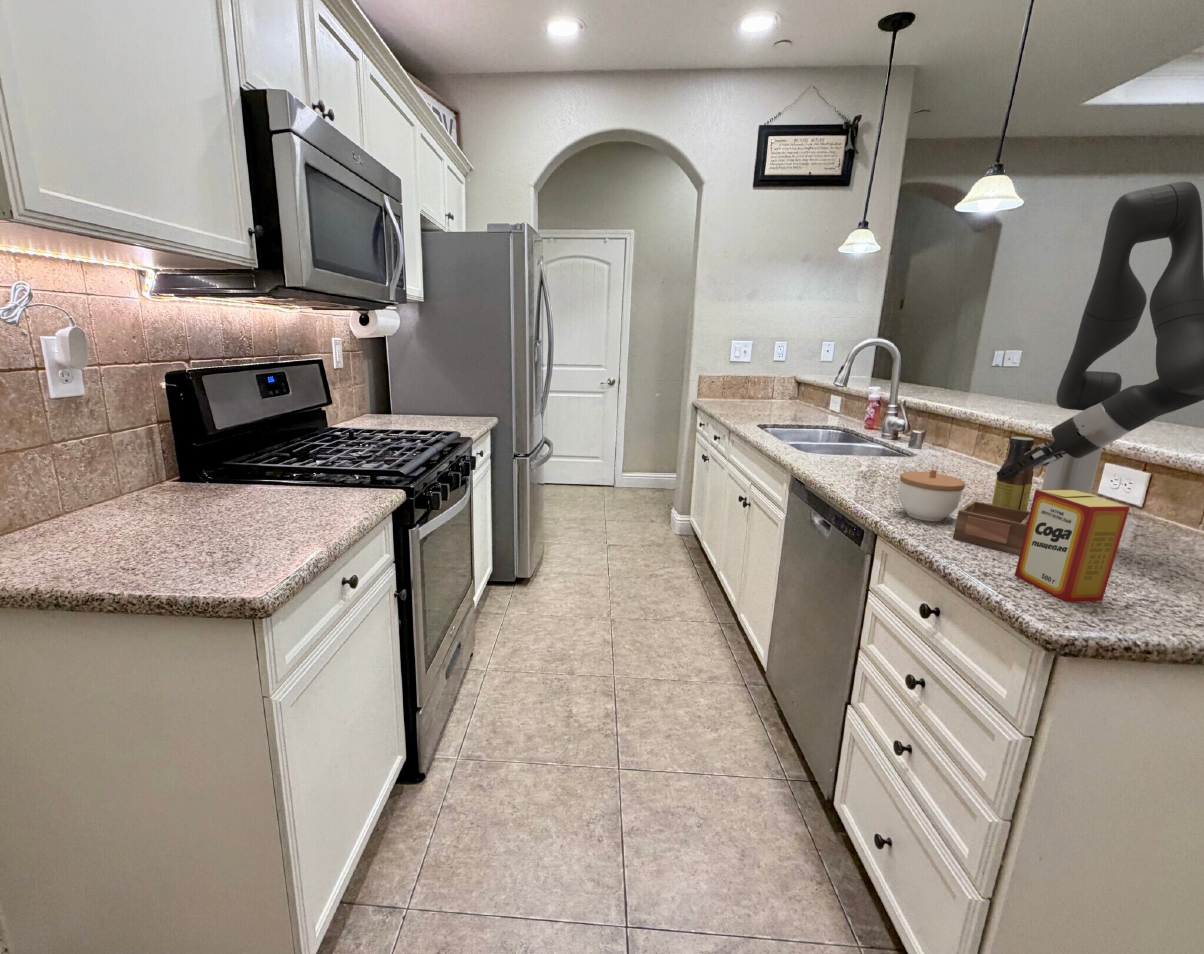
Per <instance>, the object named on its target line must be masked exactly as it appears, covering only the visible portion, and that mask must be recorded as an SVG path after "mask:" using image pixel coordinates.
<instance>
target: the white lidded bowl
mask: <svg viewBox="0 0 1204 954" xmlns="http://www.w3.org/2000/svg"><path fill="white" fill-rule="evenodd" d="M937 472H938V470H937V469H934V468H933V469H932V468H931V469H930V471H929V472H928V471H905V472H902V473H900V477H899V479H900V481H899V485H898V487H899V488H898V497H899V498H898V499H899V502H900V503H901V506H902V507H903V509H904V510H905V511H906V513H907V515H908V516H909V517H911V518H913V519H917V520H920V521H921V520H922V521H926V522H942V521H943V520H944V519H945V518H947V517H949V516H950V515H952V514H953V513H954V512H955V510H956V509H958V506H959V505H960V502H961V499H962V495H963V493H964V492H963V491H964V489H965V486H966V483H965V481H963V480H962V479H960V478H957V477H956V476H951V475H947V474H941V473H937Z"/></svg>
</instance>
